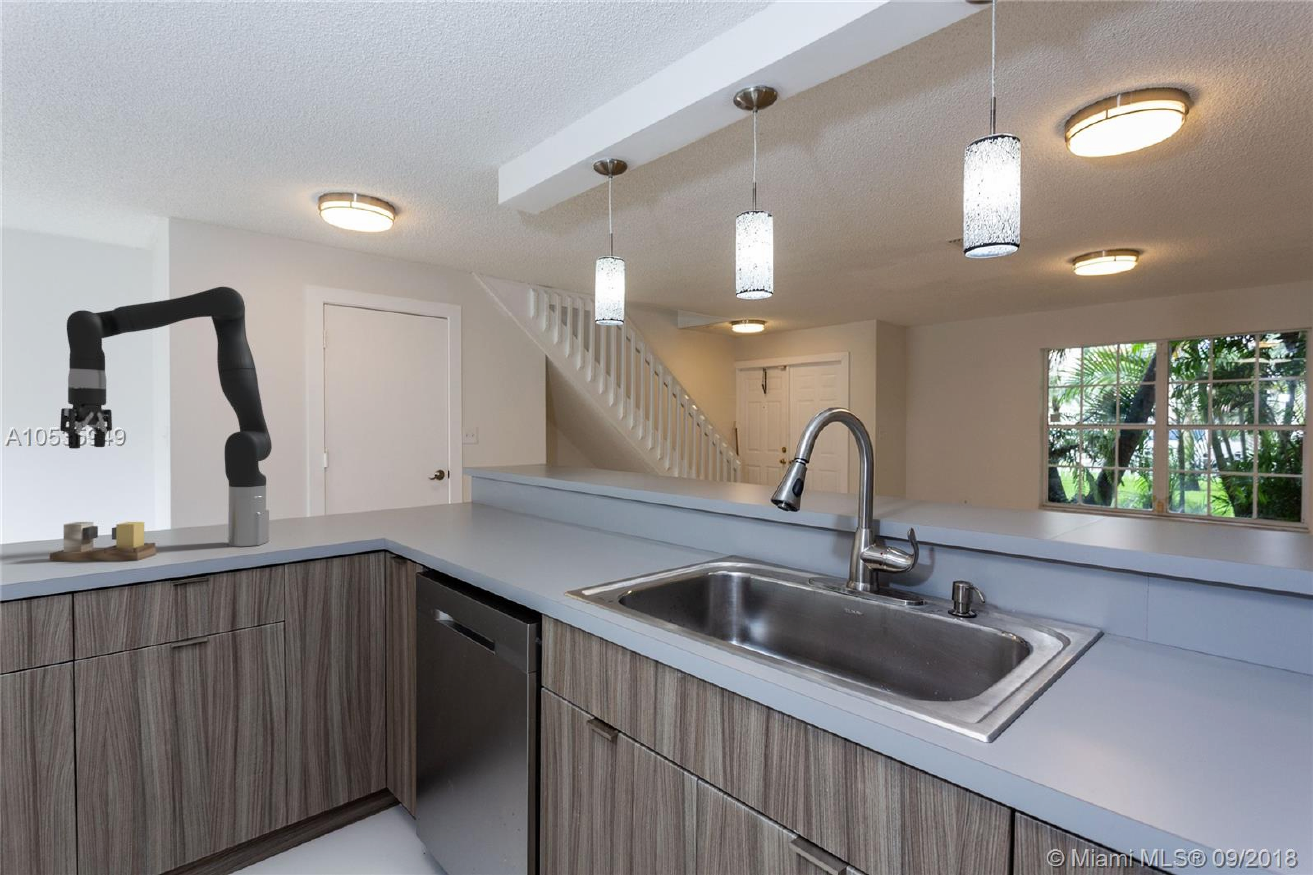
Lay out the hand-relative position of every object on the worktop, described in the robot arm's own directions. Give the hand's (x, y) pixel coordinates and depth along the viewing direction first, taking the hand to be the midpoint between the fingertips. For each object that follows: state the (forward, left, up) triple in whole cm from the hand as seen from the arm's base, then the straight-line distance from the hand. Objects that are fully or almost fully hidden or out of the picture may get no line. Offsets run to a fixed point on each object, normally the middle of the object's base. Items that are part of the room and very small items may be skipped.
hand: (87, 447), depth 164 cm
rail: (-9, +7, -28) cm, 30 cm away
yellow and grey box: (-15, +7, -26) cm, 31 cm away
